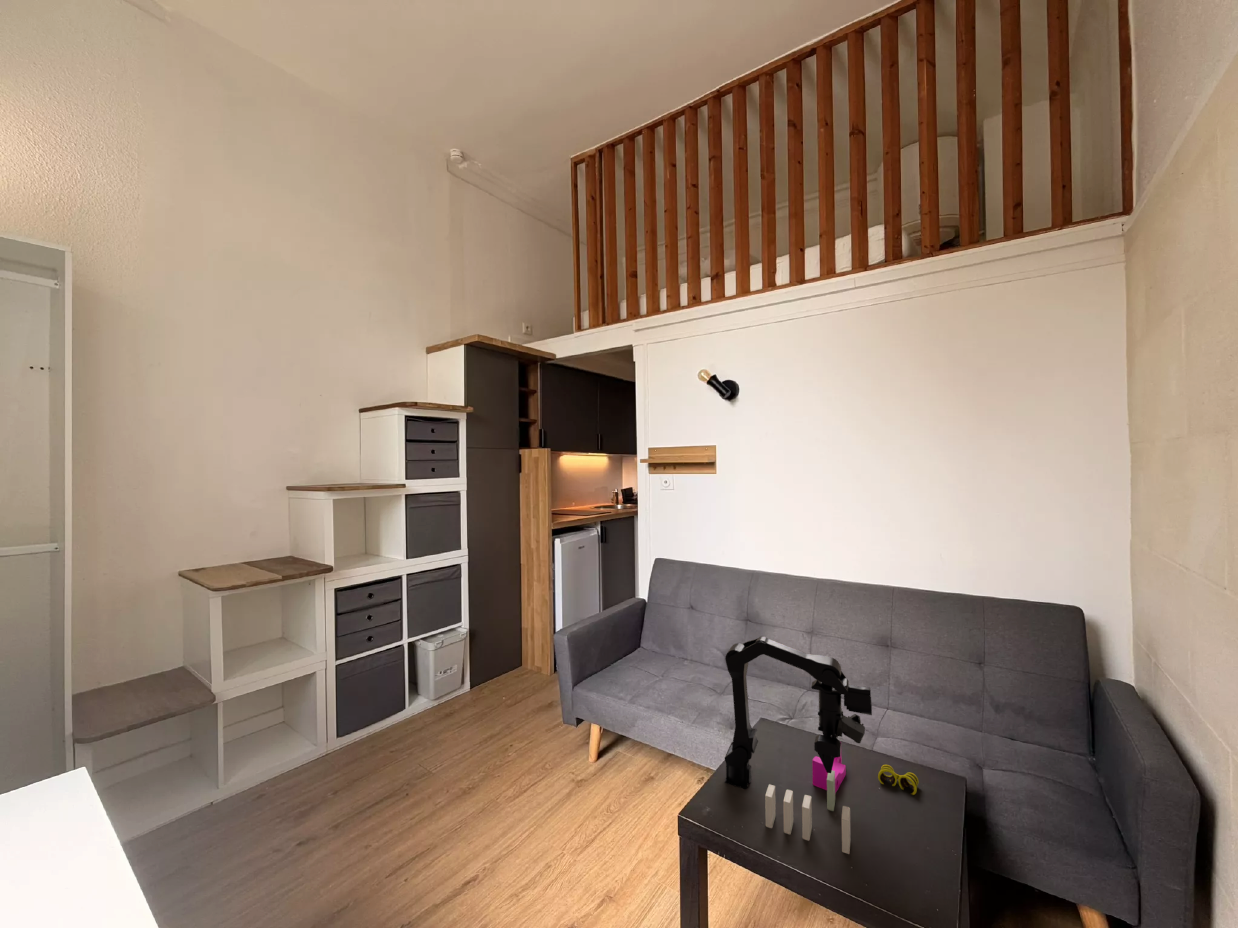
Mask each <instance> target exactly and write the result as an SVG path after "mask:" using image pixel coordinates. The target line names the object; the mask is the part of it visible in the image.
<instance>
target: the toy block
mask: <svg viewBox="0 0 1238 928" xmlns="http://www.w3.org/2000/svg"><path fill="white" fill-rule="evenodd" d="M811 763H812V765H811V766H812V770H811V771H812V786H815V787H817V788H820V789H823V790H825V791H827V776H828V773H827V772H826V770H825V767H824V765H823V763H822V761H821V759H820V757H819V756H816V755H815V756H814V757H813V758H812V762H811ZM846 766H847V765H846V764H843V762H842V754H841V755H840V757H836V758H834V762H833V767H832V770H833V771H835V794H837V791H838V790H839V788H840V786H841V784H842V782H843V781H844V779H845V777H846V775H847V771H846V769H847V767H846Z"/></svg>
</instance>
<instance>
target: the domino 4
mask: <svg viewBox="0 0 1238 928" xmlns="http://www.w3.org/2000/svg"><path fill="white" fill-rule="evenodd" d="M850 849H851V808H850V807H849V806H846V805H842V812H841V852H842V853H844V854H848V855H850V852H851V851H850Z"/></svg>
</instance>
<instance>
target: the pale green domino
mask: <svg viewBox="0 0 1238 928" xmlns="http://www.w3.org/2000/svg"><path fill="white" fill-rule="evenodd" d="M826 801H827V802H826V808H827V810H828V811H831V812H834V811H835V803H836V793H835V771H833V770H832V772H831V773H828V776H827V790H826Z"/></svg>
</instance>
